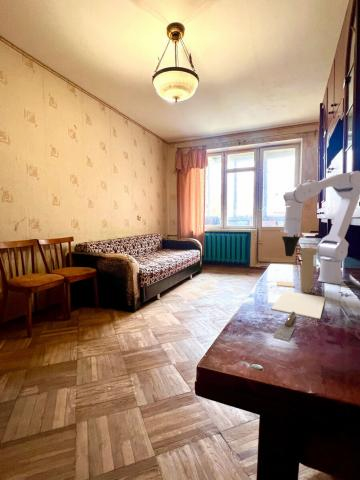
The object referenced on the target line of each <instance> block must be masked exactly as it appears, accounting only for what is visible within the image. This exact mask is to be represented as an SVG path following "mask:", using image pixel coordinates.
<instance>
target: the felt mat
mask: <svg viewBox="0 0 360 480" xmlns="http://www.w3.org/2000/svg"><path fill="white" fill-rule="evenodd" d="M325 301H326V296H325V297H324V296H319V295H313V294H308V293H300V292H293V291H288V290H285V291H284V292H283V293H282V294H281V295H280V296H279V298H278V299H277V301H276V302H274V304H273V305H272V306H271V308H270V310H273V311H276V312H277V311H278V312H283V313H288V314H291V312H295V313H296V316H297V315H298V316H302V317H307V318H311V319H316V320H321V316H322V313H323V309H324V305H325Z"/></svg>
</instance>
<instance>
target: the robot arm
mask: <svg viewBox="0 0 360 480" xmlns="http://www.w3.org/2000/svg"><path fill="white" fill-rule="evenodd" d="M329 187H330V188H332V189H333V190H334V192H336V194H337V196H338V197H340V198H341V202H340V204H339V206H338V210H337V211H336V214H335V216H334V220H333V223H332V224H331V228H330V231H329V233H328V234H327V235H325V236H324V237H322V239H321V241H320V242H319V243H318V244H317V246H316V249H317V253H316V255H317V256H318V257H319V259H320V265H319V268H320V269H319V276H318V279H317V282H319V283H321V282H322V283H328V284H334V285H342V278H341V272H342V262H343V261H344V260H345V259H346V257H347V256H348V249H349V246H350V244H349V242H348V241H347V240H346V238H345V237H346V235H347V232H348V229H349V227H350V223H351V222H352V221H351V220H352V218H353V216H354V213H355V210H356V208H357V205H358V203H359V199H360V170H355V171H351V172H350V171H349V172H345V173H339V174H338V173H337V174H332V175H330V176H328V177H326V178H323V179H321V180H319V181H318V180H314V179H308V180H306V182H305V183H299V184H296V186H294V187H290V188H288V189H286V191H285V192H284V194H283V197H282V198H283V200H284V202H285V204H284V206H285V213H284V215H285V217H284V223H283V224H284V225H283V226H284V227H283V230H280V232H279V233H284V234H287V235H286V236H284V235H283V236H281V239H282V241H283V245H284V252H285V256H286V257H293V255H294V254H295V251H296V247H297V244H298V242H299V241H300V239H301V236H296V235H297V234H298V235H301V233H302V231H301V228H302V219H303V218H302V217H303V208H304V203H305V202H306V201H307V200H308V199H309V198H312V197H314V196H315V197H316V196H317V195H319V194H320V193H321V192H322V190H324V189H327V188H329Z"/></svg>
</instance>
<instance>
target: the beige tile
mask: <svg viewBox="0 0 360 480" xmlns="http://www.w3.org/2000/svg"><path fill="white" fill-rule="evenodd" d="M275 283H277V284H276V287H283V286H285V287H286V288H295V284H294V282H291V281H290V282H289V281H284V280H283V281H281V280H276V281H275ZM285 287H284V288H285Z"/></svg>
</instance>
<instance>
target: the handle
mask: <svg viewBox="0 0 360 480" xmlns="http://www.w3.org/2000/svg"><path fill="white" fill-rule="evenodd" d="M299 252H300V254H301V255H302V260H301V261H302V262H301V270H300V291H301V292H302V293H303V294H311V293H312V288H313V283H314V282H313V281H314V257H315V255H317V248H313V247H301V248H299Z"/></svg>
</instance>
